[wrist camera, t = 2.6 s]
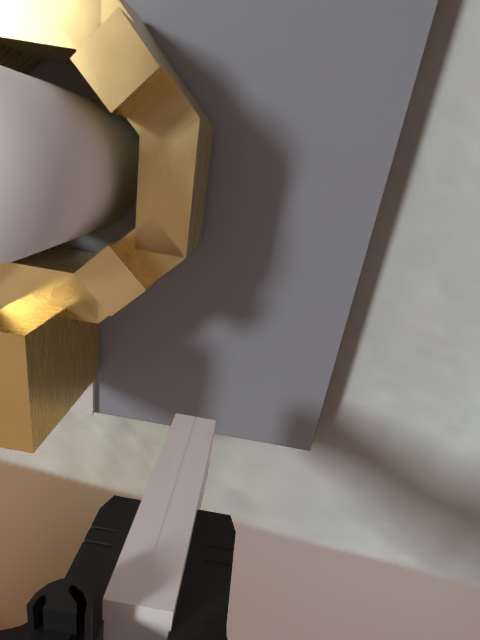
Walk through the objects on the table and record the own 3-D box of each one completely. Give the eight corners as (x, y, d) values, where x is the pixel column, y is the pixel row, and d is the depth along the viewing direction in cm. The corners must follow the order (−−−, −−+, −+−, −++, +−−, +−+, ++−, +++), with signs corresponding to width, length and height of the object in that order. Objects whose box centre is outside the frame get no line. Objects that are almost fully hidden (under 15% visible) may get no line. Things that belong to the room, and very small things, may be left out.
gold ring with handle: (-70, -19, 13) (-285, -133, 8) (225, 28, 13) (194, -58, 8) (-23, 353, 19) (-132, 423, 14) (184, 390, 19) (150, 474, 14)
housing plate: (-274, -300, 12) (-1001, -916, 5) (480, -188, 12) (780, -699, 5) (-117, 359, 21) (-304, 453, 14) (307, 435, 21) (324, 569, 14)
